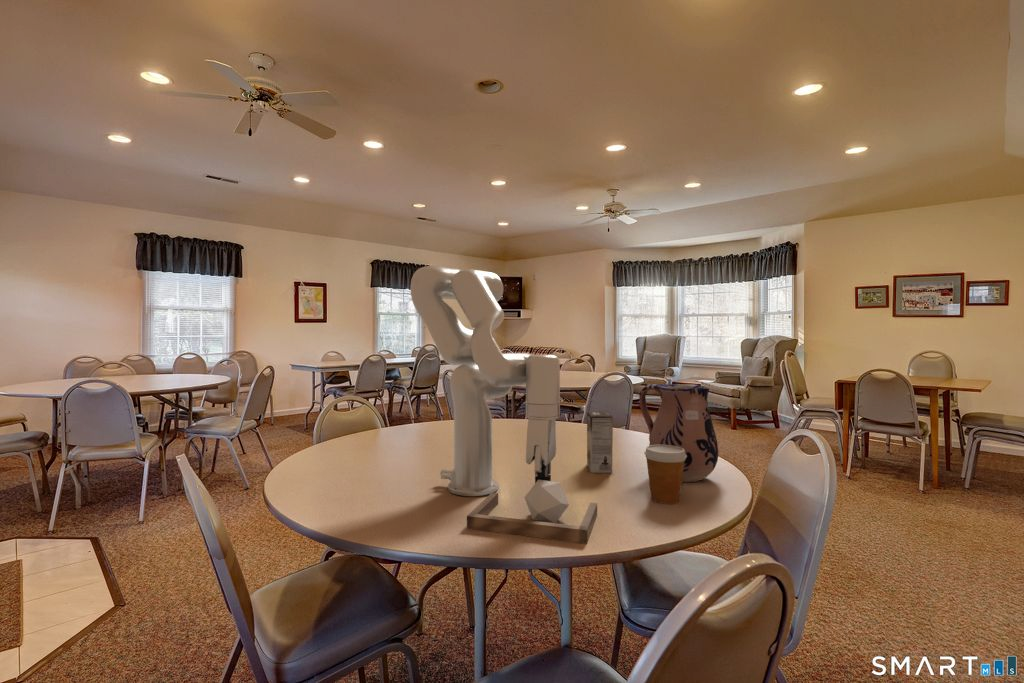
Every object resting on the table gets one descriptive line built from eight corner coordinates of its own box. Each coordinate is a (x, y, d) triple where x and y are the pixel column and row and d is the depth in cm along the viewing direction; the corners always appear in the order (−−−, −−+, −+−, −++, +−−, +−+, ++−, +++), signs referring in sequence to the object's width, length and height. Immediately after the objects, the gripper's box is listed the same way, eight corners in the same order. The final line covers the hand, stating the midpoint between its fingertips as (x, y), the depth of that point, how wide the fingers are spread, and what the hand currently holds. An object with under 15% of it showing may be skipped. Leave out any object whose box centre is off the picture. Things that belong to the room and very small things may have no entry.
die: (574, 519, 103) (556, 476, 108) (574, 512, 96) (555, 467, 101) (538, 534, 103) (522, 490, 107) (535, 528, 95) (518, 482, 100)
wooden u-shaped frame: (466, 528, 97) (466, 515, 97) (492, 503, 111) (492, 492, 111) (586, 543, 90) (586, 530, 90) (597, 514, 104) (597, 503, 104)
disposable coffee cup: (639, 492, 119) (640, 443, 119) (679, 493, 119) (679, 444, 118) (649, 506, 109) (649, 453, 109) (692, 506, 109) (692, 453, 109)
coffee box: (586, 464, 145) (586, 410, 145) (607, 464, 145) (607, 410, 145) (590, 473, 136) (590, 415, 136) (613, 473, 136) (613, 415, 135)
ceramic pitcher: (713, 492, 119) (713, 390, 119) (628, 479, 130) (629, 386, 129) (722, 474, 135) (722, 384, 134) (645, 464, 145) (645, 380, 145)
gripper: (534, 405, 115) (534, 482, 116) (517, 415, 101) (517, 502, 101) (565, 406, 113) (565, 484, 113) (552, 416, 99) (552, 506, 99)
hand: (542, 493), depth 107 cm, fingers closed
